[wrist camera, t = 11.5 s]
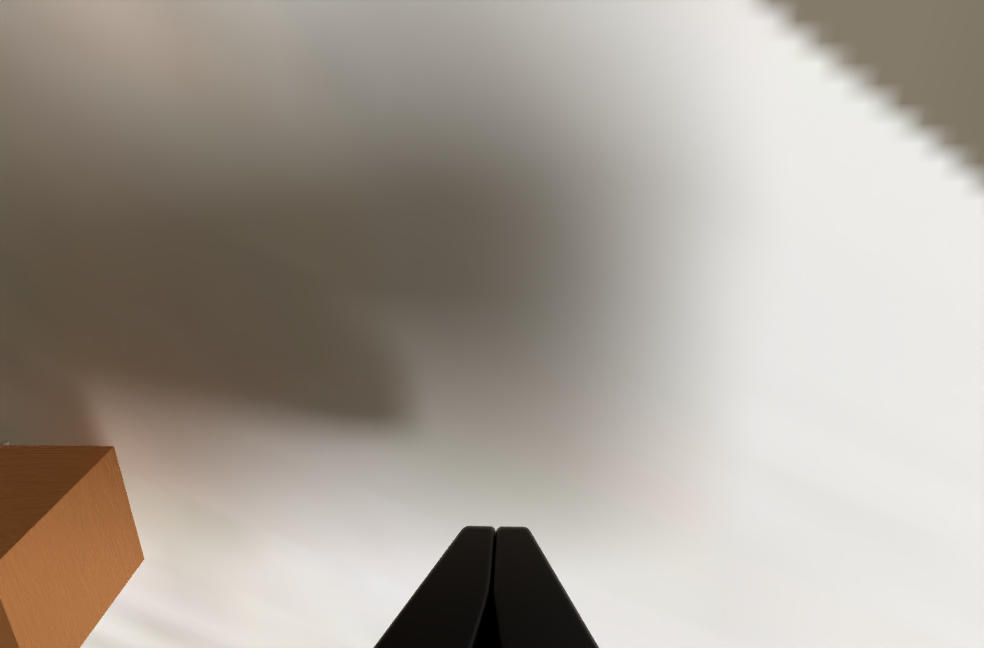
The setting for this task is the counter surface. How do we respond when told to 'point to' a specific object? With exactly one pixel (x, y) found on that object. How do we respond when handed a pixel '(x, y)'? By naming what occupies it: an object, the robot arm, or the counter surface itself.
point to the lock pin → (61, 542)
